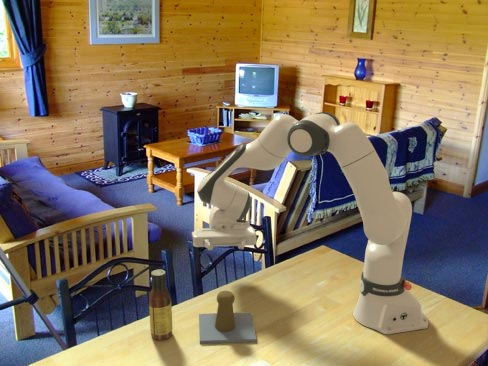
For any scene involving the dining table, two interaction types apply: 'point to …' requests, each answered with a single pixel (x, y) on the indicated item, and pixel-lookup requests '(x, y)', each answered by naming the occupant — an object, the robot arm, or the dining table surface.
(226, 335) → the tile
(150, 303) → the sauce bottle
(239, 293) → the dining table surface
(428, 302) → the dining table surface
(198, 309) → the dining table surface
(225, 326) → the cork
